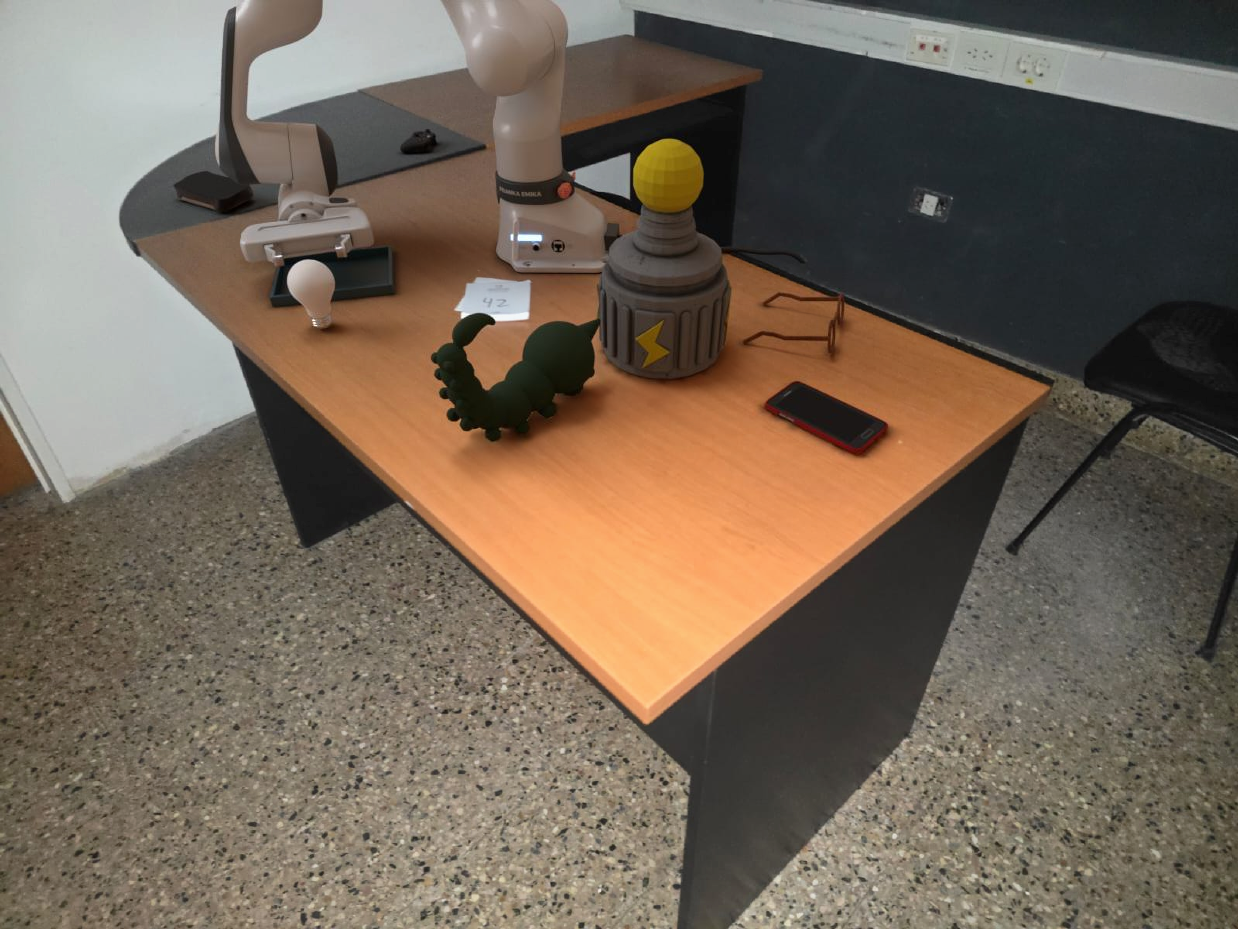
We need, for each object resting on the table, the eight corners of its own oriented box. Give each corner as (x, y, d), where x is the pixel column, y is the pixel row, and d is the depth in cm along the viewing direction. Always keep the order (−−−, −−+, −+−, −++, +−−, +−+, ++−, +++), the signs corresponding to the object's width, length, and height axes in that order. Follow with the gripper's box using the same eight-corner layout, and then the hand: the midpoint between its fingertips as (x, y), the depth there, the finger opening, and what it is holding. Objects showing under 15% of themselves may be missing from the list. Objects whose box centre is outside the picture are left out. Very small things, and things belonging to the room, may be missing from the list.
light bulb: (327, 312, 126) (309, 247, 118) (355, 325, 123) (338, 259, 115) (292, 330, 121) (271, 264, 114) (320, 343, 118) (300, 276, 111)
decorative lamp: (719, 390, 109) (740, 172, 89) (586, 376, 112) (578, 162, 92) (729, 321, 123) (750, 121, 104) (611, 311, 126) (609, 113, 106)
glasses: (830, 361, 114) (836, 331, 111) (742, 344, 118) (745, 314, 115) (844, 318, 124) (850, 289, 121) (762, 303, 127) (766, 275, 124)
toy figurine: (488, 479, 98) (628, 382, 109) (456, 354, 84) (619, 260, 96) (443, 445, 103) (582, 356, 114) (406, 323, 89) (567, 236, 101)
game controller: (411, 135, 187) (425, 117, 184) (429, 152, 189) (443, 135, 186) (397, 149, 180) (411, 131, 177) (415, 167, 182) (430, 149, 179)
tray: (393, 253, 141) (391, 245, 140) (394, 293, 130) (392, 284, 129) (281, 265, 138) (279, 255, 137) (272, 306, 127) (269, 297, 126)
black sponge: (260, 201, 160) (255, 183, 157) (225, 216, 154) (219, 197, 152) (208, 186, 166) (202, 169, 164) (172, 200, 161) (166, 182, 158)
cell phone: (857, 457, 98) (859, 451, 97) (761, 408, 105) (762, 402, 105) (889, 429, 102) (891, 424, 101) (794, 384, 110) (795, 378, 109)
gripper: (235, 212, 128) (232, 248, 118) (364, 196, 133) (372, 229, 123) (247, 249, 132) (245, 286, 122) (371, 232, 137) (380, 266, 127)
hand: (310, 257), depth 123 cm, fingers open, 8 cm apart
